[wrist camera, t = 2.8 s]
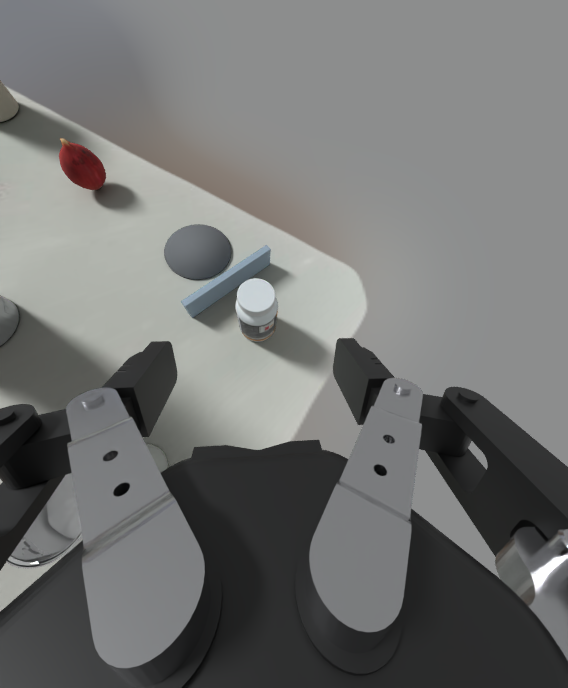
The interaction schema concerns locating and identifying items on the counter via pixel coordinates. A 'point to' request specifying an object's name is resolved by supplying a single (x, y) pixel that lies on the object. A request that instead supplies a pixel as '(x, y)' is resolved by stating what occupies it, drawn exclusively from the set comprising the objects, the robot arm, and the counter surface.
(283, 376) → the counter surface
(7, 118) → the travel mug
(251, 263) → the divider wall
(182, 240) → the mat
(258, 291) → the pill bottle
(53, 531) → the beer glass
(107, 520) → the robot arm
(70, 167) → the onion
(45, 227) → the counter surface
